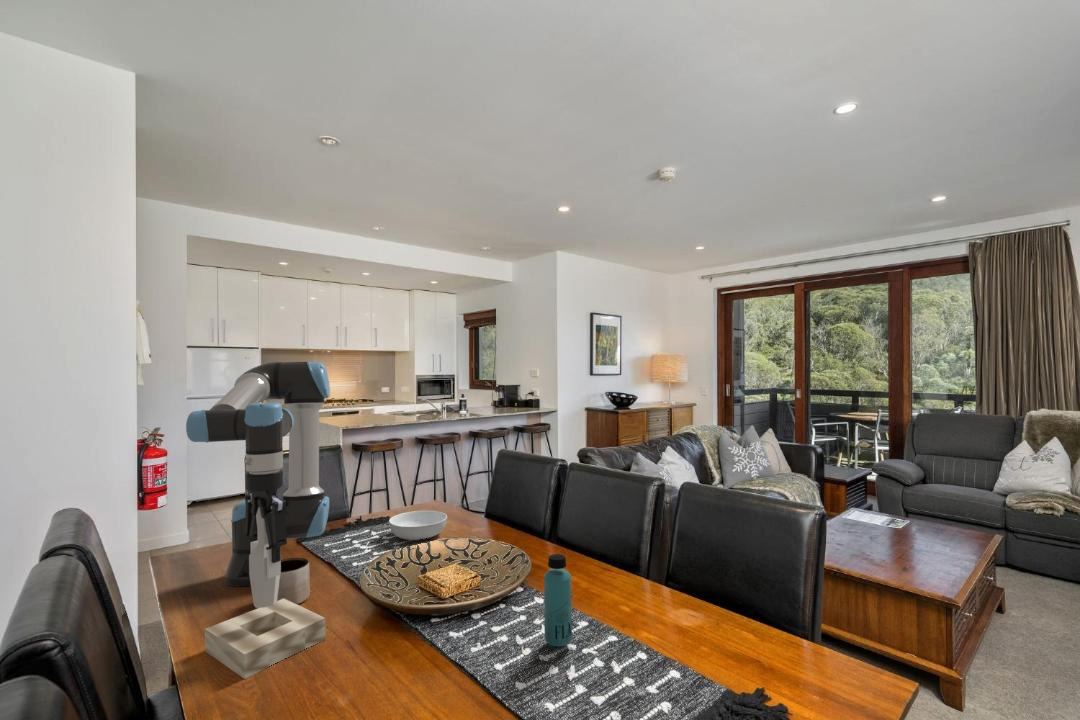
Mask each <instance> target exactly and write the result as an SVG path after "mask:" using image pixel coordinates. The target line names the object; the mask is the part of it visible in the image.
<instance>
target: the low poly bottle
mask: <svg viewBox="0 0 1080 720" xmlns="http://www.w3.org/2000/svg"><path fill="white" fill-rule="evenodd" d="M269 513H272V512H269ZM266 514H268V513H266ZM256 520H257V529H258V543H257V545H256V546H255V548H254V549H253V551H252V552H251V553H250V555H249V576H250V583H251V585H250V588H251V589H250V590H251V594H252V595H251V596H252V601H253V606H254V608H255V609H258V608H265V607H268V606H271V605H274V604H275V603H276V602H277V597H278V588H279V580H280V575H278V576H275V577H272V578H267V550H266V547H269V544H268V538H267V532H266V527H265V521H264V519H263V518H262V517H261V512H260V507H258V511H257V514H256Z"/></svg>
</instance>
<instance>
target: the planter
mask: <svg viewBox="0 0 1080 720" xmlns="http://www.w3.org/2000/svg"><path fill="white" fill-rule="evenodd" d="M310 582H311V581H310V561H309V559H307V558H303V557H291V558H290V557H289V558H285V559H284V558H283V559H281V575H280V580H279V588H278V597H277V601H278V600H281V599H286V600H288V601H290V602H293V603H295V604H297V605H300V604H302V603H304V602H305V601H307V600H308V598H309V597H310V594H311V585H310V584H311V583H310Z"/></svg>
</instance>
